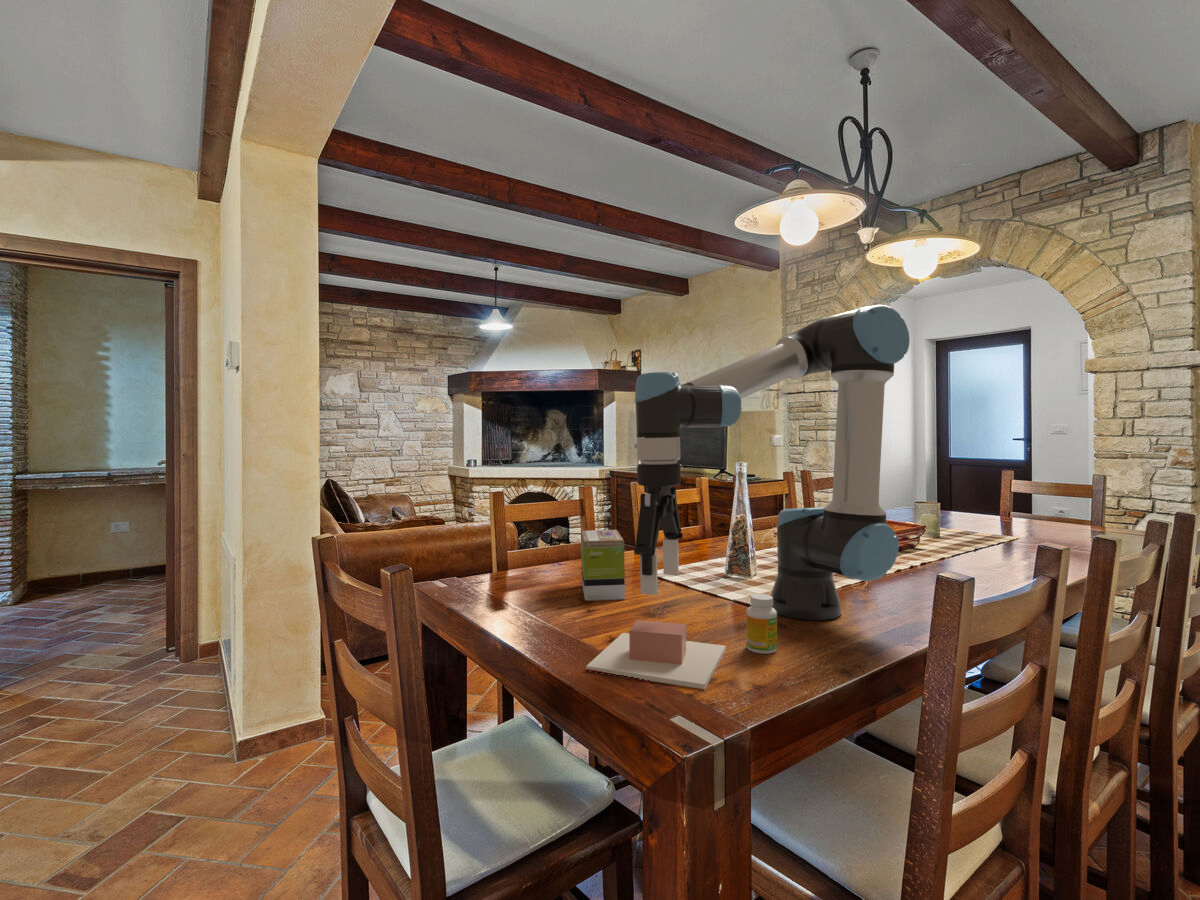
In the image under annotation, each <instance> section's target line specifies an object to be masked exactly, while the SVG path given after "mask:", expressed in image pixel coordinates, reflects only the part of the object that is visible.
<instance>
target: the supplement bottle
mask: <svg viewBox="0 0 1200 900" xmlns="http://www.w3.org/2000/svg"><path fill="white" fill-rule="evenodd" d="M770 595H771V594H770ZM770 595H769V594H764V593H754V594H751V595H750V604H751V606H748V608H747V609H746V648H747V649H748V651H751V652H752V653H756V654H763V655H764V654H765V655H766V654H767V655H768V654H769V655H770V654H773V653H776V651H777V649H778V614H777V612H776V610H775V609H774V608H772V606H773V597H772V596H770Z"/></svg>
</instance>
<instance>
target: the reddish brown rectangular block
mask: <svg viewBox="0 0 1200 900" xmlns="http://www.w3.org/2000/svg"><path fill="white" fill-rule="evenodd" d="M628 633H629V649H630V660H640V661H650V662H661V663H671V664H681V665H682V663H683V660H684V657H685V654H686V641H687V624H686V623H678V622H667V621H666V622H664V621H663V622H662V621H654V620H653V621H652V620H640V619H639V620H638V619H636V620H635V622H634V623H633V624H632V626H631V627H630V628H629V632H628Z"/></svg>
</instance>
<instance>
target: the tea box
mask: <svg viewBox="0 0 1200 900" xmlns="http://www.w3.org/2000/svg"><path fill="white" fill-rule="evenodd" d="M580 547H581V548H580V554H581V559H580V560H581V587H582V592H583V597H584V598H583V599H584V601H585V602H592V601H611V600H612V601H614V600H625V599H626V598H625V597H626V581H625V573H626V572H625V570H626V569H625V540H624V538H623V537H622V536H621V534H620V532H619V531H618V529H595V530H594V529H593V530H580Z"/></svg>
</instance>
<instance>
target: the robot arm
mask: <svg viewBox="0 0 1200 900" xmlns="http://www.w3.org/2000/svg"><path fill="white" fill-rule="evenodd" d="M909 348H910V331H909V329H908V325H907V323H906V321H905V319H903V317H902V316H901V314H900V312H898V311H897V310H896V309H894V308H893V307H891V306H888V305H885V304H876V305H875V304H874V305H869V306H867V305H866V306H862V307H859V308H857V309H853V310H849V311H846V312H841V313H837V314H833V315H829V316H825V317H823V318H820V319H818V320H816V321H813V322H811V323H809V324H808V325H806V326H804V327H801V328H800V329H798V330H796V331H793V332H791V333H789V334H787V335H785V336H782V337H781V338H779V339H778V340H777V341H776V343H775V345H774V346H771V347H769V348H766V349H764V350H762V351H760V352H756V353H754V354H752V355H750V356H748V357H744V358H743V359H742V358H741V359H740V360H737V361H735V362H733V363H730V364H728V365H726V366H724V367H721V368H718V369H716V370H714V371H711V372H709V373H707V374H704V375H702V376H699V377H697V378H695V379H693V380H690V381H686V383H683V384H681V382H680V377H679V374H678V373H676V372H670V371H667V372H666V371H658V372H657V371H656V372H655V371H654V372H653V371H652V372H645V373H641V374H639V375H638V376H637V378H636V382H635V393H634V395H635V397H634V402H635V413H636V414H635V415H636V418H635V419H636V422H635V423H636V426H635V427H636V443H634V445H633V448H634V449H636V460H637V461H639V462H640V463H638V464H637V466H636V478H637V480H636V482H637V484H638V485H639V486H643V487H644V486H645V487H647V493H641V494H640V501H639V502H640V503H639V504H640V505H639V506H640V507H639V516H638V524H637V531H636V537H635V547H634V550H633V553H634V555H636V556H637V555H638V556H639V560H640V561H639V568H640V569H639V570H640V571H639V572H640V594H642V595H653V596H657V595H658V594H659V587H658V585H659V584H658V583H659V582H658V581H659V579H658V554H656V549H657V544H658V539H659V533H660V530H662V533H663V536H664V538H663V539H662V554H663V555H662V556H663V558H662V559H663V560H662V561H663V564H662V565H663V575H666V576H679V574H680V573H679V572H680V571H679V570H680V569H679V567H680V566H679V564H680V563H679V540H680V539H681V540H682V539H683V538H684V534H683V532H682V526H681V520H680V514H679V512H680V511H679V507H678V501H677V487H676V486H678V485H680V484H681V482H682V480H681V477H682V475H681V474H682V472H681V471H682V470H681V465H680V463H678V461H680V460H681V428H720V429H721V428H723V427H731V426H733V425H735V424H736V423H737V422H738V420H740V419H739V418H740V417H741V414H742V408H743V407H742V399H744V398H746V397H748V396H751V395H753V394H756V393H757V392H760V391H763V390H764V389H766V388H768V387H771V386H774V385H775V384H778V383H781V382H782V381H785V380H787V379H789V378H790V379H792V380H798V379H801V378H803V377H805V376H807V375H812V374H818V373H824V372H830V377H832V378H833V379H834V380H835V381H836V383H837V384H838V386H837V387H838V388H837V400H836V401H837V403H836V404H837V405H836V422H835V423H836V424H835V439H834V440H835V441H834V457H833V458H834V459H833V461H834V462H833V479H832V481H833V482H832V496H831V497H832V499H831V501H830V502H829V503H828V504H827V505H825V506H820V507H802V508H801V507H799V508H798V507H797V508H784V509H782V510H780V511H779V512H778V515H777V525H776V529H777V531H776V532H777V535H776V538H777V541H776V542H777V575H776V578H775V581H774V584H773V587H772V590H771V593H770V596H772V597H773V606H772V608H774V609H775V610H776V612H777V615H780V616H783V617H787V618H792V619H797V620H806V621H807V620H808V621H825V620H827V621H828V620H833V619H837V618H839V617H840V616H841V615H842V603H841V600H840V597H839V593H838V590H837V586H836V585H835V582H834V578H833V574H836V575H840V576H843V577H845V578H848V579H850V580H859V581H864V582H873V581H876V580H879V579H881V578H882V577H885V575H886V574H887V573H888V571H890V570H891V569H892V567H893V566H894V564H895V563H896V560H897V557H898V554H899V544H900V543H899V538H898V535H897V534H896V531H895V530H894V528H892V527H891V526H889V525H888V524H887V512H886V510H884V509H883V507H881V506H880V504H879V499H880V498H879V497H880V496H879V495H880V480H881V479H880V477H881V462H882V461H881V460H882V458H881V457H882V443H883V442H882V439H883V426H884V425H883V424H884V422H883V420H884V404H885V401H884V400H885V386H886V383H887V382H888V381H890V380H891V378H893V376H894V374H895V364H897V363H899V362H900V361H901V360H903V359H904V358H905V355H906V354H907V353H908V351H909ZM660 528H662V529H660Z"/></svg>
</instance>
